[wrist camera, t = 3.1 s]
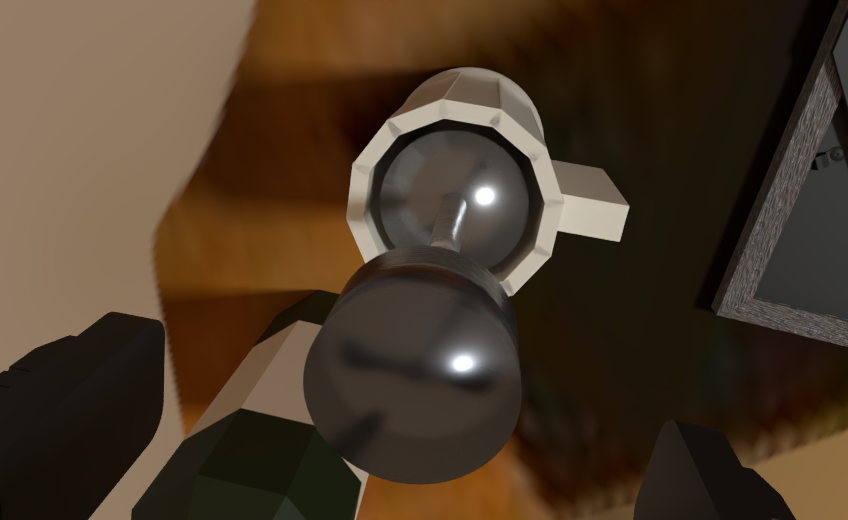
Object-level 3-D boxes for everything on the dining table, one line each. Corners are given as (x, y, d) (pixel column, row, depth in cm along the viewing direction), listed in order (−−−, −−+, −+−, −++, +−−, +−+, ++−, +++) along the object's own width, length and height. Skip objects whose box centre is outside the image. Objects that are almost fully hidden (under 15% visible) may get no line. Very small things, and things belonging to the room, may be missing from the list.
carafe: (605, 89, 33) (670, 128, 21) (569, 234, 35) (607, 345, 23) (406, 54, 33) (354, 74, 21) (385, 201, 36) (328, 293, 24)
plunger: (542, 142, 22) (597, 284, 10) (511, 281, 24) (527, 539, 12) (393, 116, 22) (275, 225, 10) (373, 256, 24) (254, 484, 12)
